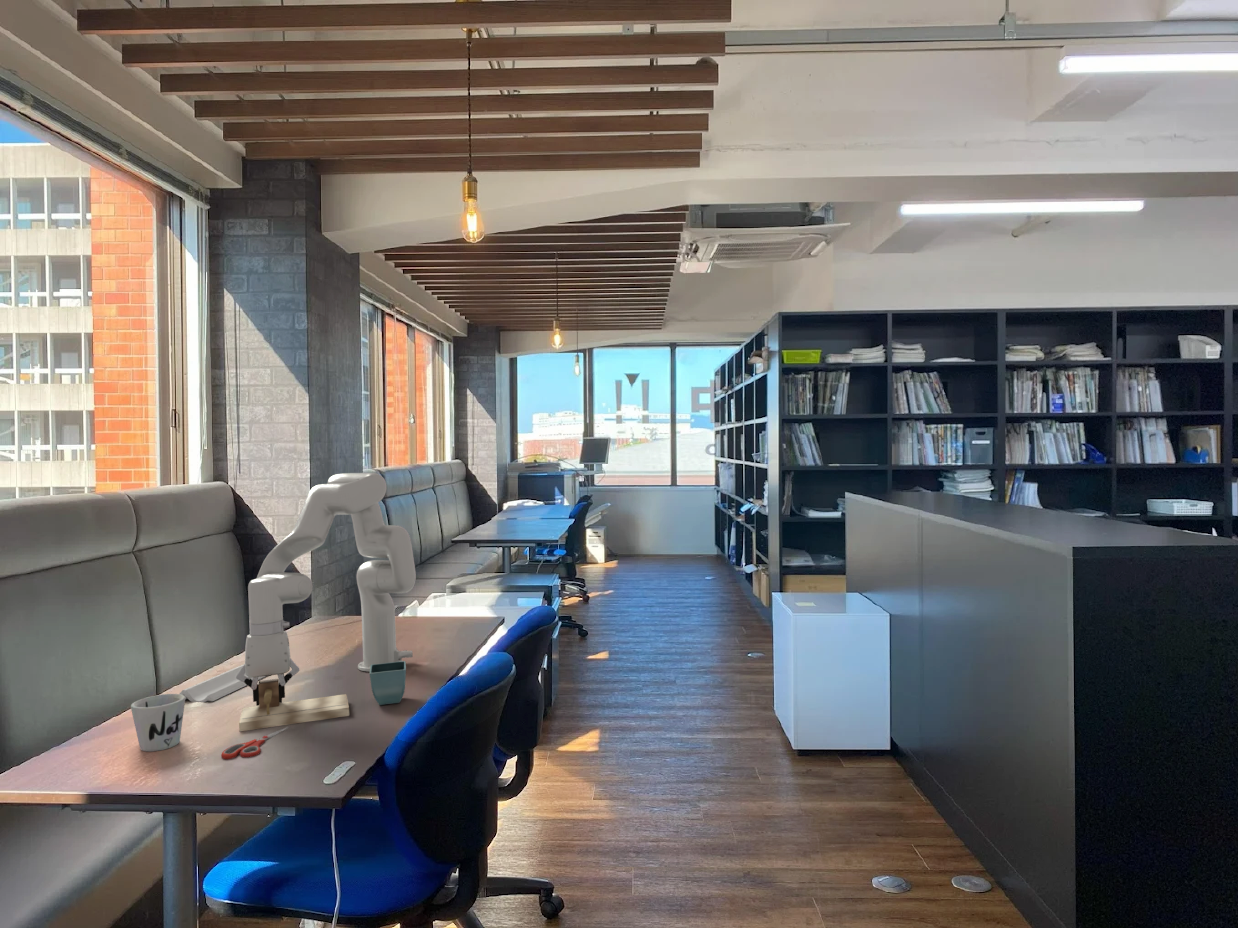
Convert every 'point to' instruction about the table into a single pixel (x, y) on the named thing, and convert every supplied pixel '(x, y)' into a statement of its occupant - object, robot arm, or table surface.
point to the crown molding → (215, 686)
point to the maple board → (294, 712)
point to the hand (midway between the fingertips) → (269, 701)
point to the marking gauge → (268, 694)
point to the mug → (158, 721)
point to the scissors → (247, 747)
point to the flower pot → (388, 682)
